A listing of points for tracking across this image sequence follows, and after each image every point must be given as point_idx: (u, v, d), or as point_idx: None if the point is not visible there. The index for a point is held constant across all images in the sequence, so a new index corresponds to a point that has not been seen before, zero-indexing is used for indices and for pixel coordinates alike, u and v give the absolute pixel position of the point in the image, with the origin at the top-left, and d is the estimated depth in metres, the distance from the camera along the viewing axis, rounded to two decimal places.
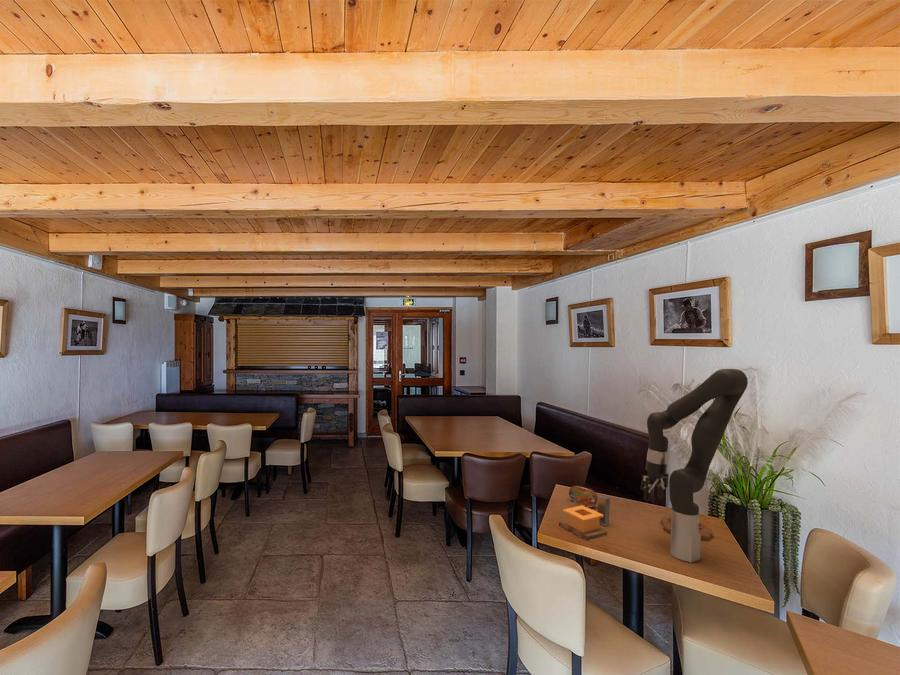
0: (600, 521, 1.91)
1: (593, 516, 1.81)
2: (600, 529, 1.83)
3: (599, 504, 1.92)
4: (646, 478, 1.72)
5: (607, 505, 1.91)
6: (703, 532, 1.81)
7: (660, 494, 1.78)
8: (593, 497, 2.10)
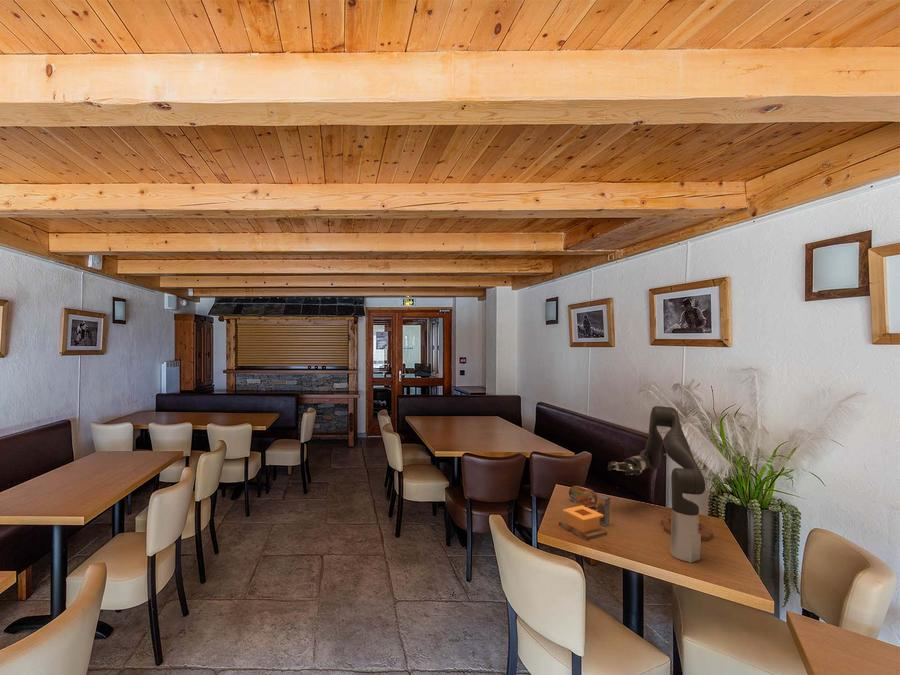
0: (600, 521, 1.91)
1: (593, 516, 1.81)
2: (600, 529, 1.83)
3: (599, 504, 1.92)
4: None
5: (607, 505, 1.91)
6: (703, 532, 1.81)
7: None
8: (593, 497, 2.10)
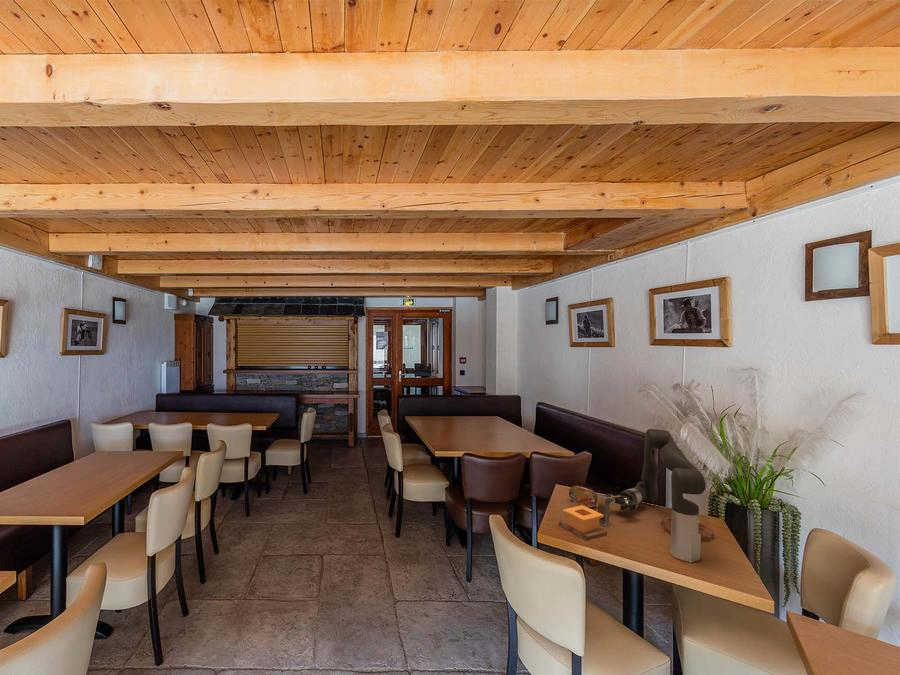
0: (600, 521, 1.91)
1: (593, 516, 1.81)
2: (600, 529, 1.83)
3: (599, 504, 1.92)
4: None
5: (607, 505, 1.91)
6: (704, 533, 1.80)
7: None
8: (593, 497, 2.10)
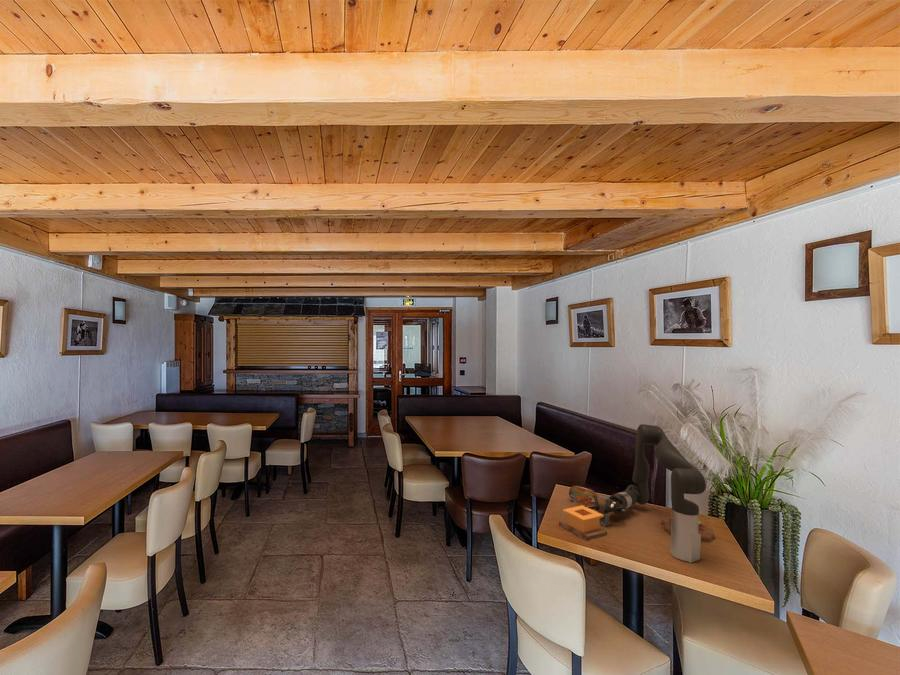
0: (600, 521, 1.91)
1: (593, 516, 1.81)
2: (600, 529, 1.83)
3: (599, 504, 1.92)
4: None
5: (607, 505, 1.91)
6: (705, 533, 1.80)
7: None
8: (593, 497, 2.10)
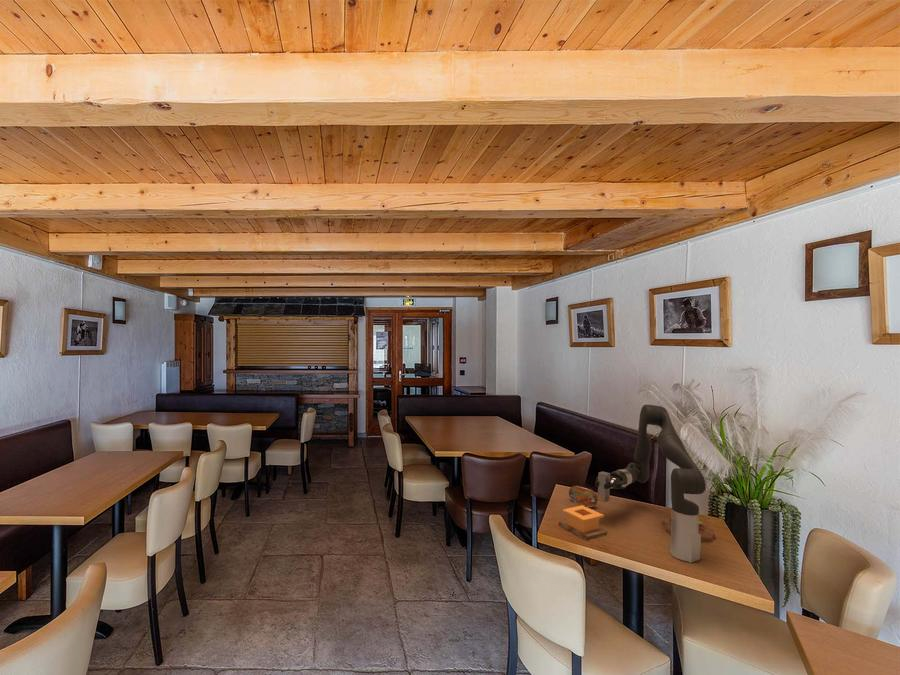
0: (600, 497, 1.91)
1: (593, 516, 1.81)
2: (600, 529, 1.83)
3: (599, 480, 1.92)
4: None
5: (607, 480, 1.91)
6: (706, 533, 1.80)
7: None
8: (593, 497, 2.10)
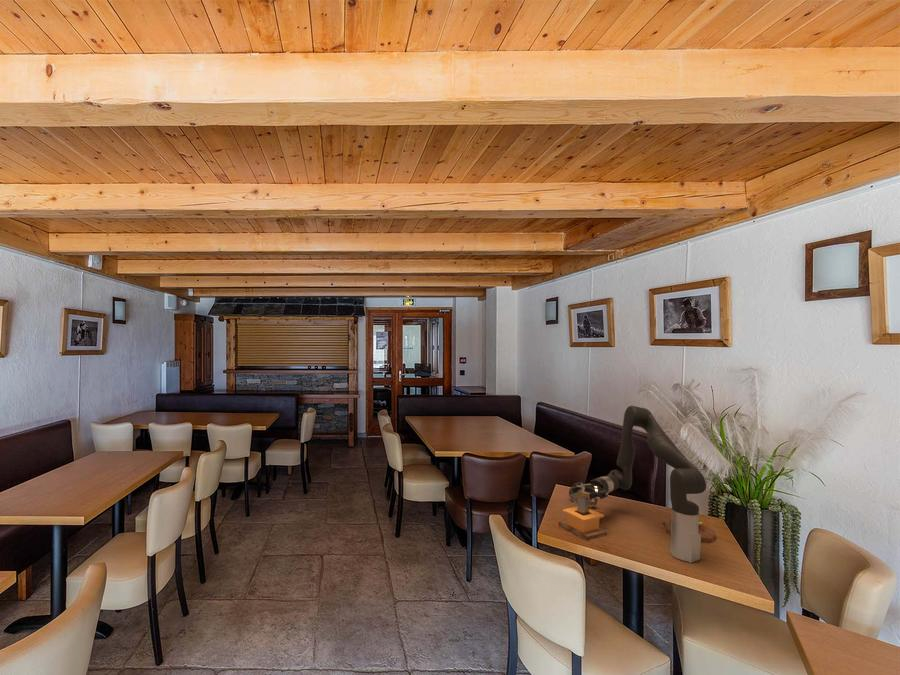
0: None
1: (593, 516, 1.81)
2: (600, 529, 1.83)
3: (579, 505, 1.85)
4: None
5: (587, 506, 1.84)
6: (706, 534, 1.79)
7: None
8: None
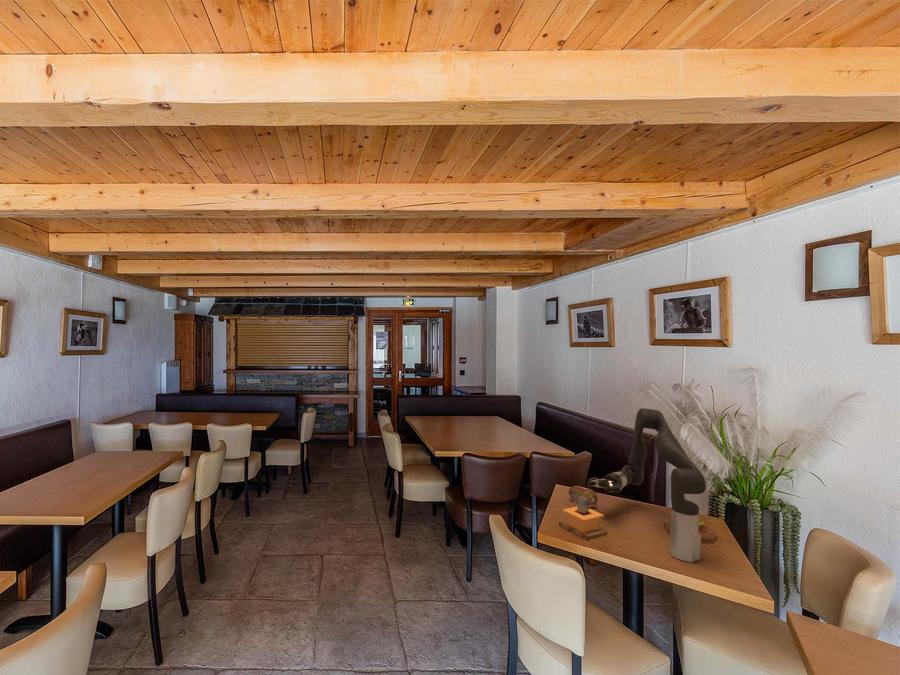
0: None
1: (593, 516, 1.81)
2: (600, 529, 1.83)
3: (578, 505, 1.85)
4: None
5: (587, 506, 1.84)
6: (708, 534, 1.79)
7: None
8: (593, 497, 2.10)
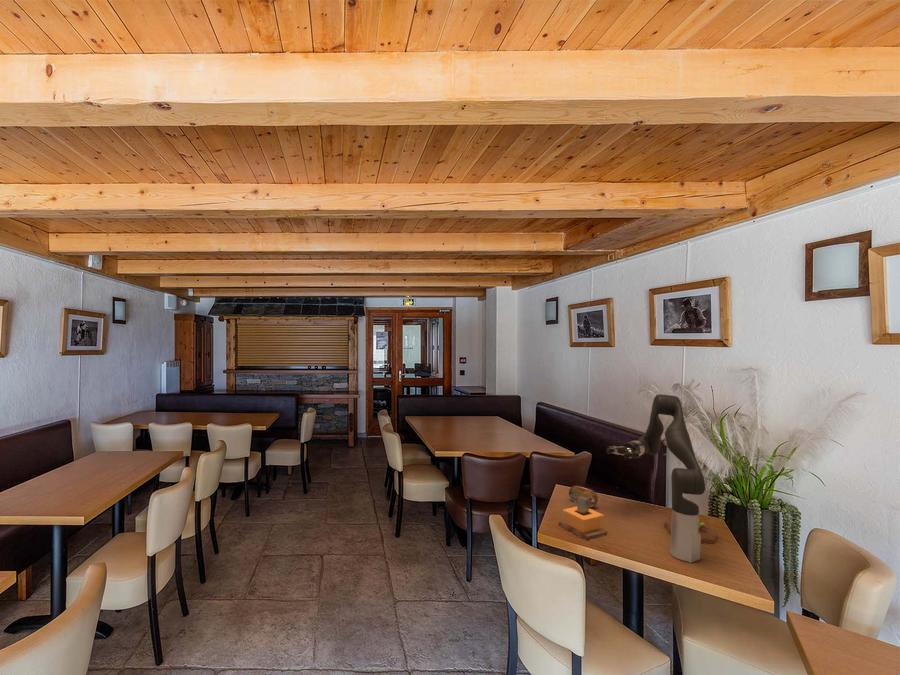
0: None
1: (593, 516, 1.81)
2: (600, 529, 1.83)
3: (578, 505, 1.85)
4: None
5: (587, 506, 1.84)
6: (709, 535, 1.78)
7: None
8: (593, 497, 2.10)
